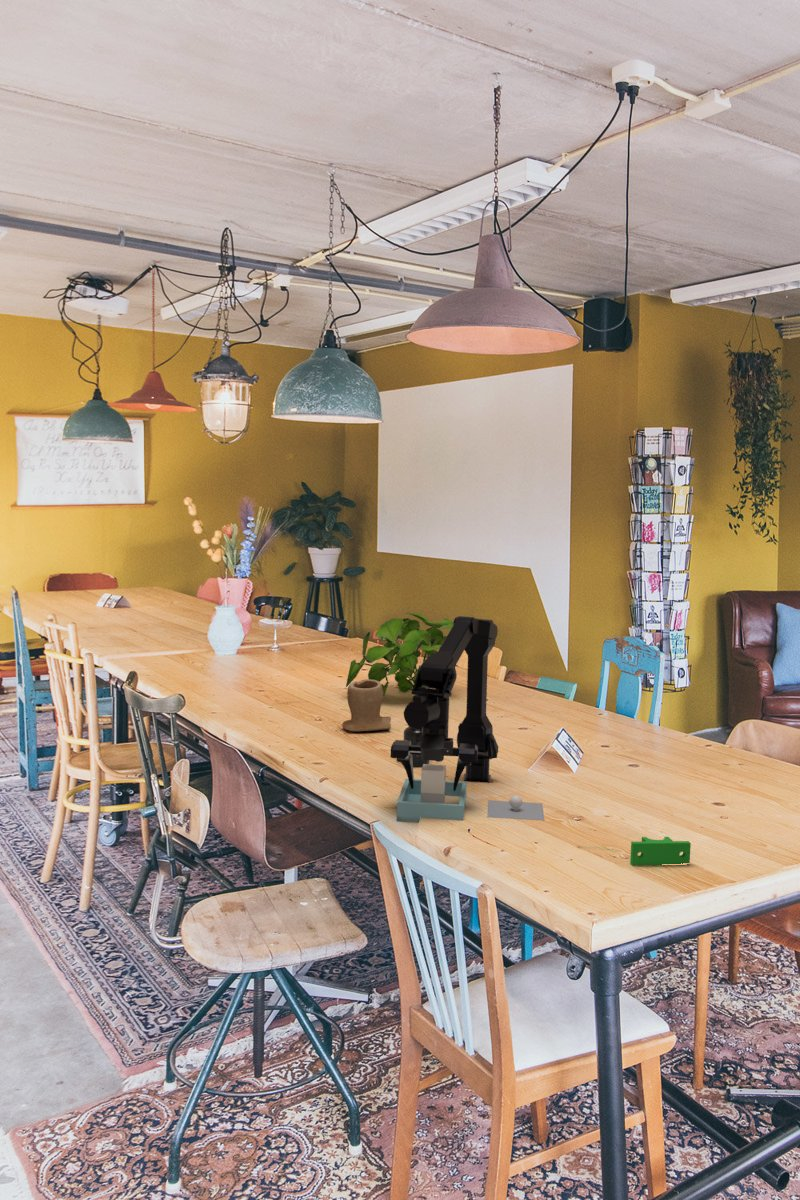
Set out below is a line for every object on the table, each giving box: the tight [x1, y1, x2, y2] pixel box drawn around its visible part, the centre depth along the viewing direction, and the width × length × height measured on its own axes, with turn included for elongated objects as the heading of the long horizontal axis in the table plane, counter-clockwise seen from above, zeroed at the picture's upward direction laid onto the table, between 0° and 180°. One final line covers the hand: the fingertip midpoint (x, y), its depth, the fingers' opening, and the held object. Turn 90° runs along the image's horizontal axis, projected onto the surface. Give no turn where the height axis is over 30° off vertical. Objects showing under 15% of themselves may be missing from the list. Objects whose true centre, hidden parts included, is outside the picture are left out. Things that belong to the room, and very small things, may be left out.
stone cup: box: [341, 678, 392, 732], centre depth 287 cm, size 15×12×15 cm
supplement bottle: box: [403, 724, 430, 768], centre depth 252 cm, size 7×7×12 cm
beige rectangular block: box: [420, 763, 447, 804], centre depth 214 cm, size 5×5×9 cm
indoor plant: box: [345, 612, 459, 697], centre depth 335 cm, size 44×42×30 cm
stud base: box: [486, 794, 545, 821], centre depth 213 cm, size 12×12×4 cm
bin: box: [395, 778, 468, 823], centre depth 215 cm, size 18×14×4 cm
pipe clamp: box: [629, 836, 692, 867], centre depth 186 cm, size 11×4×5 cm, turn 96°
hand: (433, 789), depth 214 cm, fingers open, 9 cm apart
